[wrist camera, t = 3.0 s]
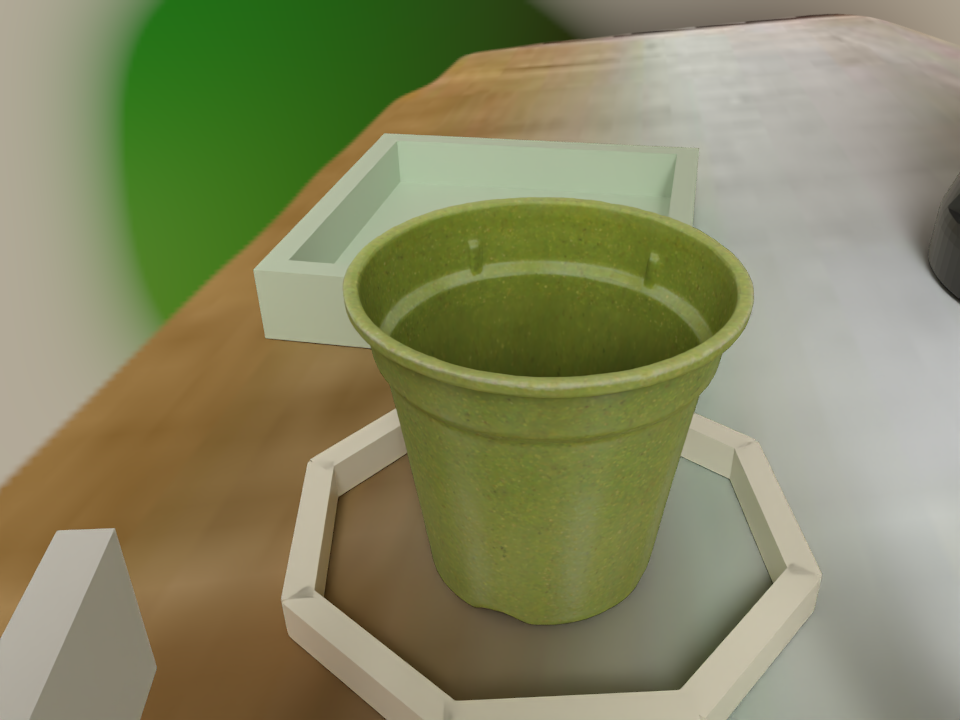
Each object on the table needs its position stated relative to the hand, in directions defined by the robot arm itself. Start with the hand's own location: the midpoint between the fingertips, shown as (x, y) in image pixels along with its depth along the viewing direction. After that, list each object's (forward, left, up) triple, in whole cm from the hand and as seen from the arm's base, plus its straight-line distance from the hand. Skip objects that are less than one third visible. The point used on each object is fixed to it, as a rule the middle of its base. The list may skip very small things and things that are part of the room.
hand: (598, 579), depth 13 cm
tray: (-20, -20, -9) cm, 29 cm away
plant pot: (-7, -7, -9) cm, 13 cm away
